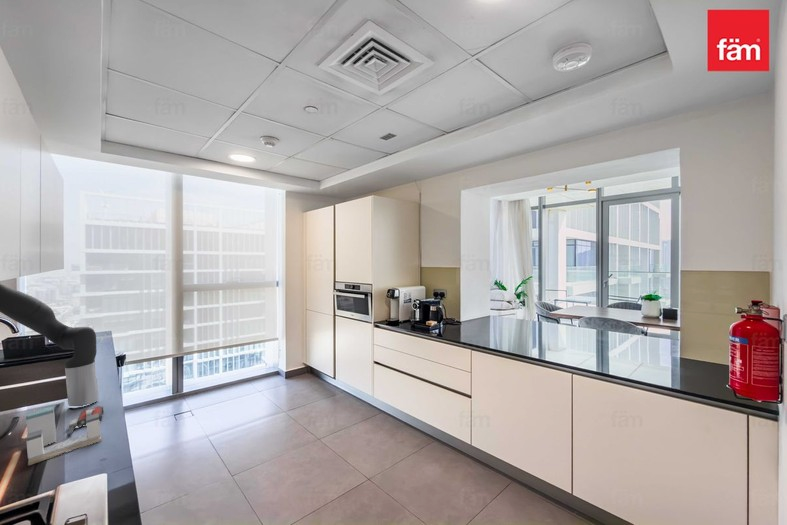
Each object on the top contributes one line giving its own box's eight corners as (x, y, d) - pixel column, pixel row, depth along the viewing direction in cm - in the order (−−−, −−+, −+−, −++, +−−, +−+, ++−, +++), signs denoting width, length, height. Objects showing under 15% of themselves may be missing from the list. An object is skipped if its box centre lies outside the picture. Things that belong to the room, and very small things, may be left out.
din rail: (30, 454, 99) (30, 452, 99) (98, 432, 110) (98, 430, 110) (29, 461, 96) (28, 458, 96) (100, 437, 107) (99, 435, 107)
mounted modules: (29, 453, 99) (27, 433, 99) (99, 430, 110) (98, 413, 110) (28, 458, 96) (26, 438, 96) (100, 434, 107) (99, 416, 107)
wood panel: (30, 456, 100) (29, 454, 100) (99, 433, 111) (99, 431, 111) (28, 465, 95) (27, 463, 95) (101, 440, 106) (101, 438, 106)
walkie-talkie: (74, 419, 125) (64, 440, 109) (73, 408, 125) (63, 427, 109) (104, 411, 130) (99, 430, 115) (103, 400, 130) (98, 417, 115)
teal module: (30, 445, 106) (27, 412, 106) (56, 437, 111) (53, 406, 110) (29, 450, 103) (25, 417, 103) (56, 442, 108) (53, 409, 107)
